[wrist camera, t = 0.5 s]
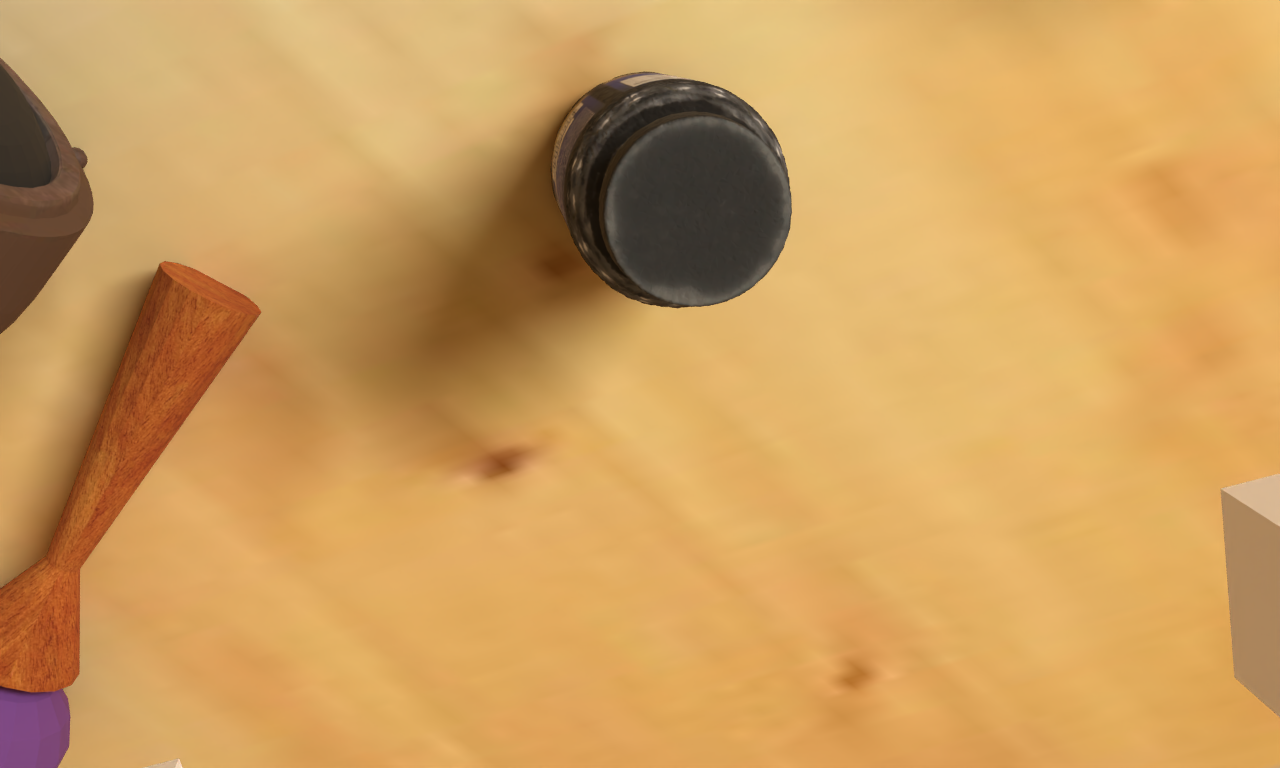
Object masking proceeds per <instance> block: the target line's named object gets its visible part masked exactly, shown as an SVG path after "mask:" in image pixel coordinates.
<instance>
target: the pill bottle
mask: <svg viewBox="0 0 1280 768" xmlns="http://www.w3.org/2000/svg"><path fill="white" fill-rule="evenodd" d="M551 178H552V187H553V193H554V196H555V199H556V201H557V203H558V206H559V208H560V211H561V213H562V215H563V216H564V219H565V221H566V223H567V226H568V228H569V230H570V233H571V236H572V238H573V240H574V243H575V245H576V246H577V248H578V250H579V251H580V253H581V255H582V257H583V259H584V260H585V261H586V263H587V264H588V265H589V266H590V267H591V269H592V270H593V272H594V273H596V274H597V275H598V276H599V277H600V278H601V279H602V280H603V281H605V283H606V284H607V285H609V286H610V287H611V288H612V289H614V290H616V291H617V292H619V293H621V294H623V295H625V296H626V297H627V298H631V299H633V300H637V301H640V302H641V303H644V304H649V305H657V306H661V307H672V308H680V307H694V306H697V307H701V306H710V305H714V304H719V303H722V302H725V301H728V300H730V299H733V298H735V297H737V296H740V295H741V294H743V293H745V292H746V291H747V290H749V289H751V288H752V287H753V286H754V285H755V284H756V283H757V282H758V281H760V280H761V279H762V278H763V277H764V276H765V275H766V274H767V273H768V272H769V270H770V269H771V268H772V266H773V265H774V263H775V262H776V261H777V259H778V257H779V255H780V253H781V251H782V249H783V248H784V245H785V241H786V239H787V237H788V233H789V230H790V222H791V213H792V208H791V192H790V186H789V177H788V170H787V167H786V163H785V158H784V156H783V154H782V150H781V147H780V144H779V143H778V140H777V138H776V136H775V134H774V133H773V131H772V130H771V129H770V128H769V126H768V125H767V123H766V122H765V121H764V120H763V119H762V117H761V116H760V115H759V114H758V112H756V111H755V110H754V109H753V107H751V106H750V105H748V104H747V103H746V102H745V101H744V100H742V99H740V98H739V97H737V96H736V95H734V94H732V93H731V92H729V91H727V90H725V89H723V88H720V87H717V86H714V85H711V84H708V83H705V82H700V81H695V80H690V79H685V78H680V77H676V76H670V75H664V74H659V73H655V72H639V73H631V74H626V75H621V76H618V77H616V78H614V79H612V80H610V81H608V82H605V83H602V84H600V85H598V86H596V87H595V88H593V89H592V90H591V91H589V92H588V93H586V94H585V95H584V96H583V97H582V98H580V99H579V100H578V101H577V103H576V104H575V105H574V106H573V107H572V109H571V111H570V112H569V113H568V114H567V115H566V117H565V119H564V121H563V124H562V125H561V126H560V128H559V130H558V134H557V137H556V140H555V144H554V149H553V155H552V161H551Z"/></svg>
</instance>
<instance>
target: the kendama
mask: <svg viewBox="0 0 1280 768" xmlns="http://www.w3.org/2000/svg"><path fill="white" fill-rule="evenodd" d="M260 313H261V311H260V310H259V308H258V306H257V305H256V304H254V303H253V302H252V301H251V300H250V299H248V298H247V297H246V296H244V295H243V294H241V293H239V292H237V291H235V290H233V289H231V288H229V287H227V286H226V285H224V284H222V283H220V282H218V281H216V280H214V279H212V278H210V277H208V276H207V275H205V274H203V273H201V272H199V271H197V270H195V269H193V268H190V267H187V266H184V265H181V264H178V263H172V262H166V261H164V262H162V263H160V264H159V267H158V270H157V272H156V275H155V277H154V280H153V282H152V285H151V288H150V290H149V293H148V295H147V298H146V300H145V303H144V306H143V308H142V311H141V313H140V316H139V318H138V321H137V324H136V326H135V329H134V331H133V334H132V336H131V339H130V342H129V344H128V347H127V349H126V352H125V354H124V357H123V360H122V362H121V365H120V367H119V370H118V372H117V375H116V378H115V380H114V383H113V385H112V388H111V390H110V393H109V396H108V398H107V401H106V403H105V406H104V409H103V411H102V414H101V416H100V419H99V421H98V424H97V427H96V429H95V432H94V434H93V437H92V439H91V442H90V445H89V447H88V450H87V452H86V455H85V457H84V460H83V463H82V465H81V468H80V470H79V473H78V475H77V478H76V481H75V483H74V486H73V488H72V491H71V493H70V496H69V499H68V501H67V504H66V506H65V509H64V511H63V514H62V517H61V519H60V522H59V524H58V527H57V529H56V532H55V535H54V537H53V540H52V542H51V545H50V547H49V550H48V553H47V555H46V556H45V557H44V558H42V559H41V560H40V561H38V562H37V563H36V564H34V565H33V566H31V567H30V568H29V569H27V570H26V571H24V572H23V573H22V574H20V575H19V576H17V577H16V578H15V579H13V580H12V581H11V582H9V583H8V584H6V585H5V586H4V587H2V588H1V589H0V768H57V767H58V766H59V764H60V762H61V760H62V758H63V757H64V755H65V753H66V751H67V749H68V748H69V734H70V710H69V703H68V698H67V696H66V695H65V693H64V691H63V689H62V688H65V687H67V686H70V685H72V684H73V682H74V681H75V679H76V678H77V676H78V675H79V640H80V568H81V566H82V565H83V564H84V562H85V561H86V559H87V558H88V557H89V555H90V554H91V552H92V551H93V549H94V548H95V547H96V545H97V544H98V542H99V541H100V540H101V538H102V537H103V535H104V534H105V533H106V531H107V530H108V528H109V527H110V525H111V524H112V523H113V521H114V520H115V518H116V517H117V516H118V514H119V513H120V511H121V510H122V508H123V507H124V506H125V504H126V503H127V501H128V500H129V499H130V497H131V496H132V494H133V493H134V491H135V490H136V489H137V487H138V486H139V484H140V483H141V482H142V480H143V479H144V477H145V476H146V475H147V473H148V472H149V470H150V469H151V467H152V466H153V465H154V463H155V462H156V460H157V459H158V458H159V456H160V455H161V453H162V452H163V450H164V449H165V448H166V446H167V445H168V443H169V442H170V441H171V439H172V438H173V436H174V435H175V434H176V432H177V431H178V429H179V428H180V426H181V425H182V424H183V422H184V421H185V419H186V418H187V417H188V415H189V414H190V412H191V411H192V409H193V408H194V407H195V405H196V404H197V402H198V401H199V400H200V398H201V397H202V395H203V394H204V392H205V391H206V390H207V388H208V387H209V385H210V384H211V383H212V381H213V380H214V378H215V377H216V376H217V374H218V373H219V371H220V370H221V368H222V367H223V366H224V364H225V363H226V361H227V360H228V359H229V357H230V356H231V354H232V353H233V351H234V350H235V349H236V347H237V346H238V344H239V343H240V342H241V340H242V339H243V337H244V336H245V335H246V333H247V332H248V330H249V329H250V327H251V326H252V325H253V323H254V322H255V320H256V319H257V318H258V316H259V315H260Z"/></svg>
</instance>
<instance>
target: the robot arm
mask: <svg viewBox="0 0 1280 768" xmlns="http://www.w3.org/2000/svg"><path fill="white" fill-rule="evenodd" d="M1221 499H1222V513H1223V527H1224V541H1225V554H1226V568H1227V582H1228V595H1229V609H1230V623H1231V636H1232V650H1233V664H1234V677H1235V678H1236V679H1237V680H1238V681H1239V682H1240V683H1241V684H1243V685H1244V686H1245V687H1246V688H1247V689H1248V690H1249V691H1251V692H1252V693H1253V694H1254V695H1255V696H1256V697H1257V698H1258V699H1260V700H1261V701H1262V702H1263V703H1264V704H1265V705H1266V706H1267V707H1269V708H1270V709H1271V710H1272V711H1273V712H1274V713H1275V714H1277V715H1278V716H1279V717H1280V474H1276V475H1272V476H1268V477H1264V478H1260V479H1256V480H1253V481H1249V482H1245V483H1241V484H1237V485H1233V486H1229V487H1226V488H1222V489H1221ZM144 768H183V767H182V765H181V762H180V760H179V759H175V760H171V761H167V762H163V763H160V764H156V765H152V766H148V767H144Z"/></svg>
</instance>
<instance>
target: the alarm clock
mask: <svg viewBox="0 0 1280 768" xmlns="http://www.w3.org/2000/svg"><path fill="white" fill-rule="evenodd" d="M86 164H87V156H86V155H85V153H84V151H82V150H81V149H79V148H75V147H74V148H72V147H71V145H70V143H69V141H68V139H67V138H66V136H65V134H64V133H63V131H62V130H61V128H60V127H59V125H58V124H57V122H56V121H55V119H54V118H53V116H52V115H51V114H50V113H49V111H48V110H47V109H46V107H45V106H44V105H43V104H42V102H41V101H40V100H39V99H38V97H37V96H36V95H35V94H34V93H33V92H32V91H31V90H30V89H29V87H28V86H27V85H26V84H25V83H24V82H23V81H22V80H21V79H20V77H19V76H18V75H17V74H16V73H15V72H14V71H13V70H12V69H11V68H10V67H9V66H8V65H7V64H6V63H5V62H4V61H3V60H2V59H1V58H0V334H1V333H2V332H3V331H4V330H5V329H7V328H8V327H9V326H10V325H11V324H12V323H14V321H15V320H16V319H17V318H18V317H19V316H20V315H21V314H22V312H23V311H24V310H25V309H26V308H27V307H28V306H29V305H30V303H31V302H32V301H33V300H34V299H35V297H36V296H37V295H38V294H39V292H40V291H41V289H42V288H43V287H44V285H45V284H46V282H47V281H48V280H49V278H50V277H51V275H52V274H53V273H54V271H55V270H56V269H57V267H58V266H59V264H60V263H61V262H62V260H63V259H64V257H65V256H66V255H67V253H68V252H69V250H70V249H71V248H72V246H73V245H74V243H75V242H76V241H77V239H78V238H79V236H80V235H81V233H82V232H83V230H84V229H85V227H86V226H87V224H88V223H89V221H90V219H91V216H92V214H93V197H92V191H91V188H90V185H89V182H88V180H87V177H86V175H85V173H84V171H83V169H82V168H84V167H85V165H86Z"/></svg>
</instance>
